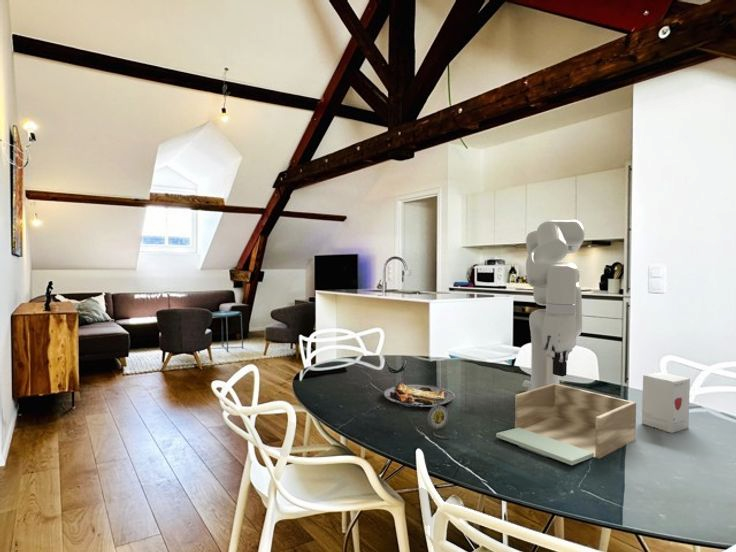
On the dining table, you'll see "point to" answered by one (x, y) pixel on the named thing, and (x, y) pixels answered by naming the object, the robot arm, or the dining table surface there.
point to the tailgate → (545, 446)
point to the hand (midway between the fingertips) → (559, 374)
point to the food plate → (418, 395)
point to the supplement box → (666, 401)
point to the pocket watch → (436, 413)
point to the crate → (577, 417)
